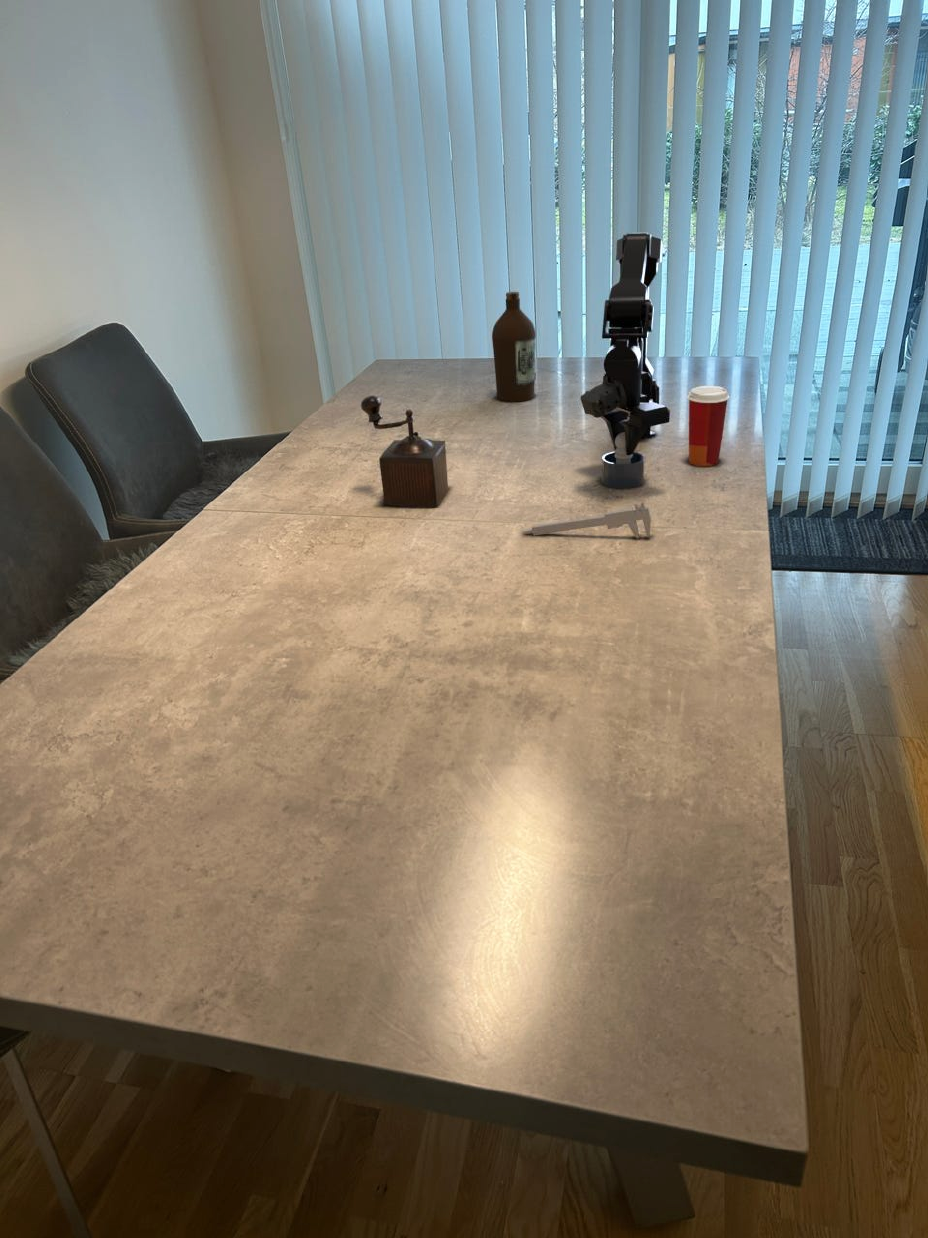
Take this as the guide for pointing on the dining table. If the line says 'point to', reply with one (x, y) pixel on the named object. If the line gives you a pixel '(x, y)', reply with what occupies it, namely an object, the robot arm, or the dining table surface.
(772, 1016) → the dining table surface
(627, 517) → the caliper
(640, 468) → the ceramic cup
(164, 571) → the dining table surface
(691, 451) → the paper cup
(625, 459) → the chess piece
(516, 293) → the olive oil
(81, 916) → the dining table surface
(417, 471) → the manual coffee grinder
